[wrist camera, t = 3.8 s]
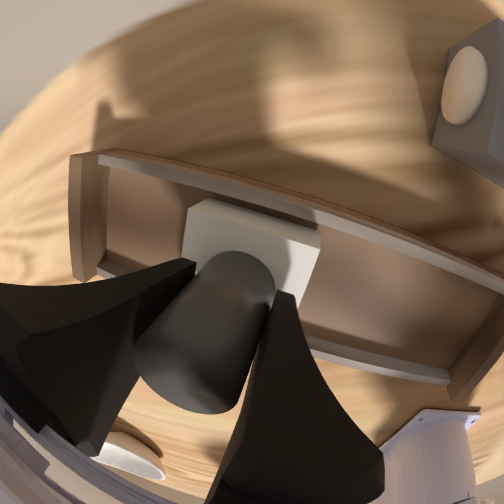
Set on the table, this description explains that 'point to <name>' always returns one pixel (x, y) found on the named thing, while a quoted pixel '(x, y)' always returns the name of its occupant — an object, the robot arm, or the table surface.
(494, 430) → the table surface
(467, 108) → the box
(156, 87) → the table surface
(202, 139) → the table surface
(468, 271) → the rail
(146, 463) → the spoon rest
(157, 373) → the carriage
